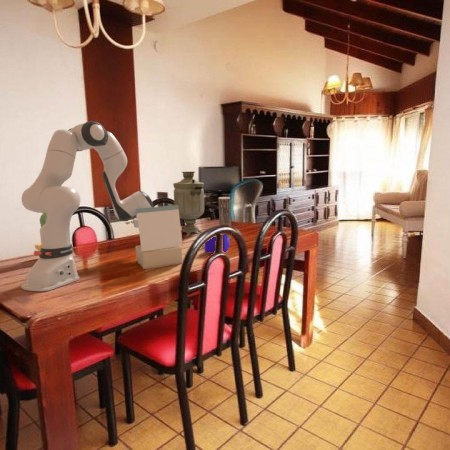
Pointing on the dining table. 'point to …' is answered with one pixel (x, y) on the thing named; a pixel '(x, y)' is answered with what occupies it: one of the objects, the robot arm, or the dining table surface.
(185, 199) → the samovar
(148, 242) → the lid
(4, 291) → the dining table surface
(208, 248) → the bracket
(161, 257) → the box
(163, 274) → the dining table surface
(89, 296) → the dining table surface
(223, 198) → the paper tube
